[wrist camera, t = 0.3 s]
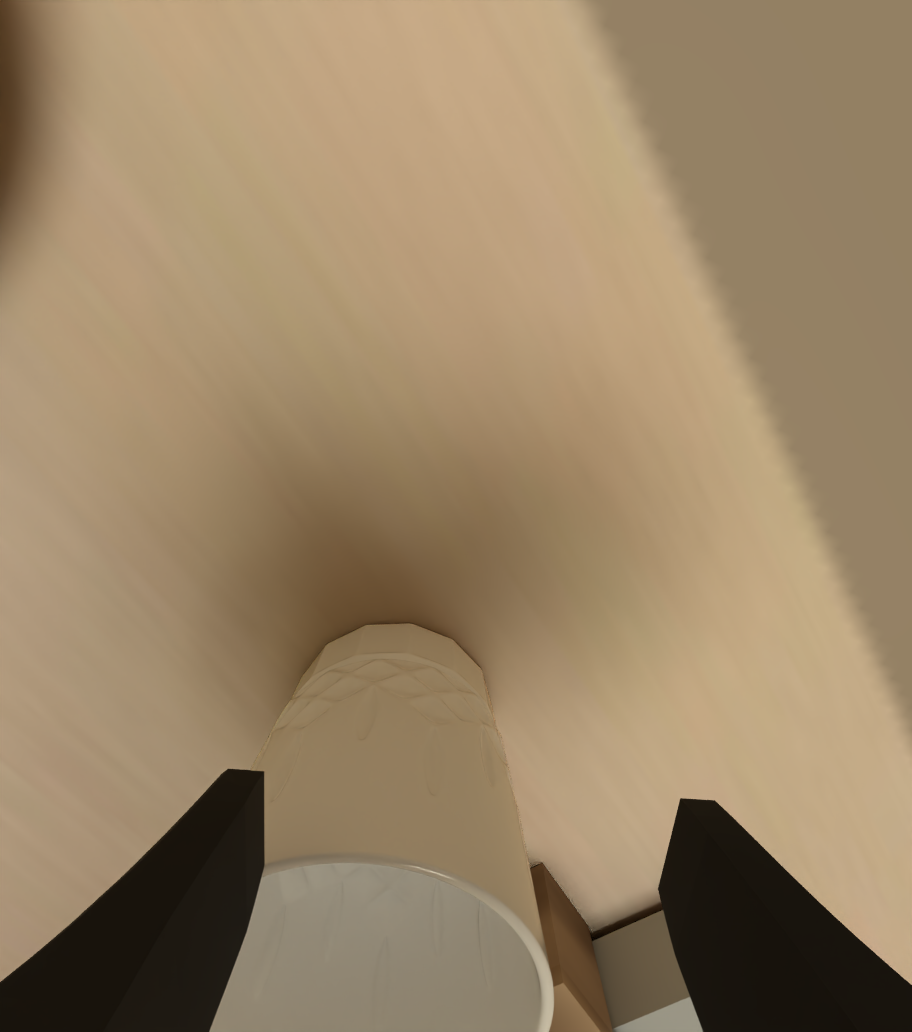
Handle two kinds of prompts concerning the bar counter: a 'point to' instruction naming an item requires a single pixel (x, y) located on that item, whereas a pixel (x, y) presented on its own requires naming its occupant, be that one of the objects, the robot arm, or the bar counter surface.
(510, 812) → the white cup
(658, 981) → the plunger grey
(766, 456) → the bar counter surface
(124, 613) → the bar counter surface
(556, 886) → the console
